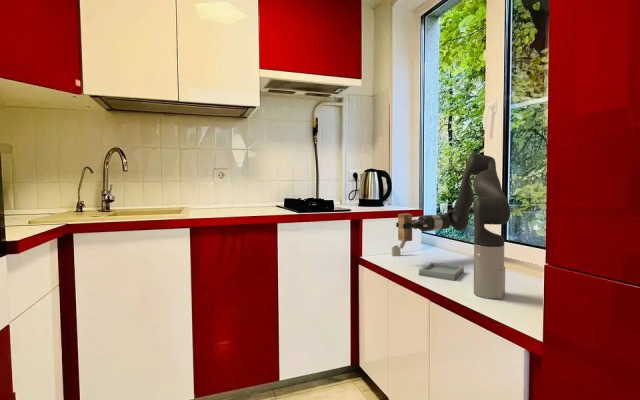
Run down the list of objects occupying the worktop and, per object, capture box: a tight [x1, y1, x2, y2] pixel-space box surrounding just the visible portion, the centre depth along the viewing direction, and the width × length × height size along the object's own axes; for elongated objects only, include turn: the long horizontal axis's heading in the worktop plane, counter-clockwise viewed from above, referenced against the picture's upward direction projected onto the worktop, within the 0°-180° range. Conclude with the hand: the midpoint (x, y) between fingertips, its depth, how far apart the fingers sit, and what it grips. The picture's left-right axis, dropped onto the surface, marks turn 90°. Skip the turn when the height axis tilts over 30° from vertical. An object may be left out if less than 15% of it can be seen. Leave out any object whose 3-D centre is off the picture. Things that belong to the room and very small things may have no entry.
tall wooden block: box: [397, 213, 413, 242], centre depth 158 cm, size 4×4×12 cm
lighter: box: [391, 241, 407, 257], centre depth 179 cm, size 7×2×8 cm, turn 96°
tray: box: [418, 262, 465, 282], centre depth 144 cm, size 14×14×2 cm
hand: (400, 225), depth 156 cm, fingers closed on tall wooden block, 4 cm apart
